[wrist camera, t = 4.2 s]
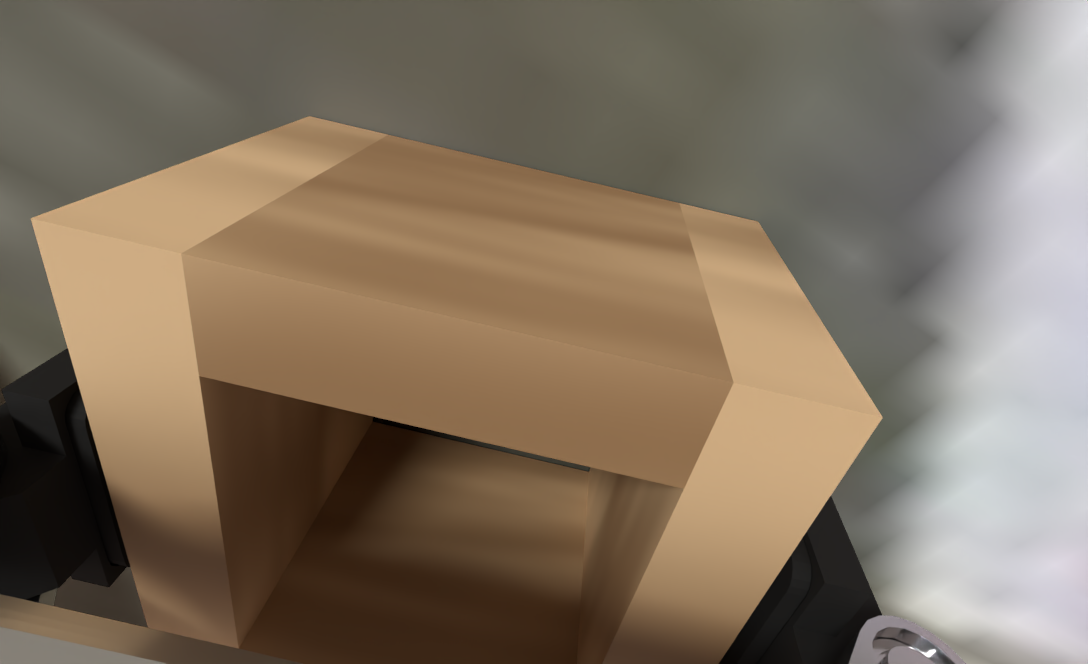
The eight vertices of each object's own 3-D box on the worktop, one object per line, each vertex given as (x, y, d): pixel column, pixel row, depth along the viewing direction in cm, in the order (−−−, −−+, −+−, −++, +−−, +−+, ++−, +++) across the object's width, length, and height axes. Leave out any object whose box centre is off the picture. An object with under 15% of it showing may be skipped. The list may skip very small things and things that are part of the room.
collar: (309, 116, 9) (30, 218, 5) (757, 221, 9) (882, 416, 5) (314, 451, 13) (161, 676, 9) (630, 524, 13) (636, 785, 9)
